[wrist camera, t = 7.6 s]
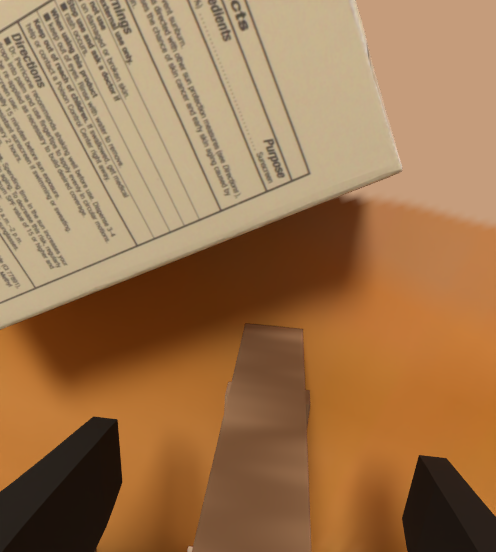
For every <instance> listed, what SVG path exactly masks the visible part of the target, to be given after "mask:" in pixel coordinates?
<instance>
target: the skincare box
mask: <svg viewBox="0 0 496 552" xmlns="http://www.w3.org/2000/svg"><path fill="white" fill-rule="evenodd" d="M399 172H402V165H401V161H400V158H399V155H398V151H397V147H396V144H395V140H394V137H393V133H392V130H391V126H390V123H389V120H388V116H387V113H386V109H385V106H384V102H383V99H382V95H381V92H380V88H379V85H378V81H377V78H376V74H375V71H374V67H373V64H372V61H371V56H370V52H369V48H368V44H367V40H366V35H365V31H364V27H363V23H362V20H361V17H360V13H359V10H358V6H357V3H356V0H0V330H1V329H3V328H6V327H8V326H11V325H13V324H16V323H18V322H21V321H23V320H26V319H29V318H31V317H34V316H36V315H39V314H42V313H44V312H47V311H49V310H52V309H54V308H57V307H59V306H62V305H65V304H67V303H70V302H72V301H75V300H77V299H80V298H82V297H85V296H87V295H89V294H92V293H95V292H97V291H100V290H103V289H105V288H108V287H110V286H113V285H116V284H118V283H121V282H123V281H126V280H128V279H131V278H133V277H136V276H138V275H141V274H143V273H146V272H148V271H151V270H153V269H156V268H159V267H161V266H164V265H166V264H169V263H171V262H174V261H176V260H179V259H181V258H184V257H187V256H189V255H192V254H194V253H197V252H199V251H202V250H204V249H207V248H209V247H212V246H214V245H217V244H219V243H222V242H224V241H227V240H229V239H232V238H235V237H237V236H240V235H242V234H245V233H247V232H250V231H252V230H255V229H257V228H260V227H262V226H265V225H267V224H270V223H273V222H275V221H278V220H280V219H283V218H285V217H288V216H290V215H293V214H295V213H298V212H300V211H303V210H306V209H308V208H311V207H313V206H316V205H318V204H321V203H323V202H326V201H328V200H331V199H334V198H336V197H339V196H341V195H344V194H346V193H349V192H352V191H354V190H357V189H360V188H362V187H365V186H367V185H370V184H372V183H375V182H378V181H380V180H383V179H385V178H388V177H390V176H393V175H395V174H397V173H399Z"/></svg>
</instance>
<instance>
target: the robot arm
mask: <svg viewBox="0 0 496 552" xmlns="http://www.w3.org/2000/svg"><path fill="white" fill-rule="evenodd" d="M121 484H122V472H121V459H120V446H119V433H118V420H117V419H109V418H100V417H93V418H91V419H90V420H89V421H88V422H86V423H85V424H84V425H83V426H81V427H80V428H79V429H78V430H76V431H75V432H74V433H73V434H72V435H70V436H69V437H68V438H67V439H66V440H64V441H63V442H62V443H61V444H60V445H58V446H57V447H56V448H55V449H54V450H52V451H51V452H50V453H49V454H47V455H46V456H45V457H44V458H43V459H41V460H40V461H39V462H38V463H36V464H35V465H34V466H33V467H31V468H30V469H29V470H28V471H26V472H25V473H24V474H23V475H21V476H20V477H19V478H18V479H16V480H15V481H14V482H13V483H11V484H10V485H9V486H7V487H6V488H5V489H3V490H2V491H1V492H0V552H94V551H95V549H96V547H97V545H98V543H99V541H100V539H101V537H102V535H103V532H104V530H105V528H106V526H107V523H108V521H109V518H110V515H111V513H112V510H113V507H114V505H115V502H116V499H117V496H118V493H119V490H120V487H121ZM402 521H403V527H404V533H405V539H406V545H407V551H408V552H496V517H495V516H494V514H493V513H492V512H491V511H490V510H489V509H488V507H487V506H486V505H485V504H484V503H483V501H482V500H481V499H480V498H479V497H478V496H477V494H476V493H475V492H474V491H473V490H472V488H471V487H470V486H469V485H468V484H467V482H466V481H465V480H464V479H463V478H462V476H461V475H460V474H459V473H458V472H457V470H456V469H455V468H454V467H453V466H452V464H451V463H450V462H449V461H448V460H447V459H446V458H439V457H431V456H422V455H419V457H418V461H417V465H416V469H415V472H414V476H413V480H412V483H411V487H410V491H409V495H408V498H407V502H406V506H405V510H404V513H403V517H402Z"/></svg>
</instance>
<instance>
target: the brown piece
mask: <svg viewBox="0 0 496 552" xmlns="http://www.w3.org/2000/svg"><path fill="white" fill-rule="evenodd" d="M309 410H310V391H309V390H305V372H304V346H303V329H297V328H287V327H277V326H266V325H256V324H246V323H245V327H244V331H243V336H242V340H241V344H240V348H239V353H238V357H237V361H236V366H235V370H234V374H233V378H232V382H228V386H227V390H226V394H225V412H224V417H223V421H222V425H221V430H220V434H219V438H218V442H217V447H216V451H215V455H214V460H213V464H212V468H211V472H210V477H209V481H208V485H207V489H206V494H205V498H204V502H203V507H202V511H201V515H200V519H199V524H198V528H197V532H196V536H195V541H194V545H193V547H191V546H188V550H187V552H311V528H310V502H309V476H308V450H307V425H308V417H309Z"/></svg>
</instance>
